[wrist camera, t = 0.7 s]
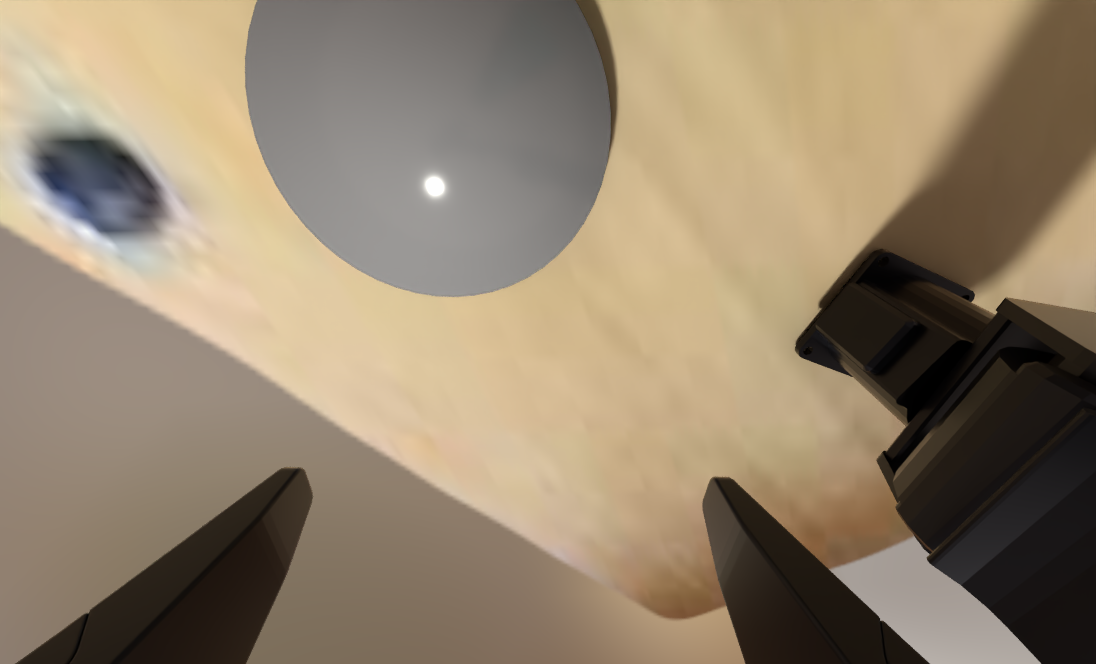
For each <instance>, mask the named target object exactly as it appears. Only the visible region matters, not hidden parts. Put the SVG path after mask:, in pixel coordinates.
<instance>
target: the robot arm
mask: <svg viewBox="0 0 1096 664" xmlns="http://www.w3.org/2000/svg"><path fill="white" fill-rule="evenodd" d="M881 258H883V259H882V261H881V262H880V263H878V262H879V260H880V259H881ZM974 297H975V294H974V292H973V291H971V290H969V289H967V288H965V287H963V286H961V285H959V284H957V283H954V282H952V281H950V280H948V279H946V278H944V277H942V276H940V275H937V274H935V273H933V272H931V271H929V270H927V269H925V268H923V267H921V266H918V265H916V264H914V263H912V262H910V261H908V260H906V259H904V258H902V257H899V256H897V255H895V254H893V253H891V252H889V251H887V250H884V249H880V250H876V251H875V252H873V253H872V254H871V255H870V256H869V257H868V258H867V260H866V261H865V262H864V263H863V264H862V266H861V267H860V268H859V269H858V271H857V272H856V273H855V274H854V275H853V277H852V278H851V279H850V280H849V281H848V283H847V284H846V285H845V286H844V288H843V289H842V290H841V291H840V292H839V294H838V295H837V296H836V297H835V299H834V300H833V301H832V302H831V303H830V305H829V306H828V307H827V308H826V309H825V311H824V312H823V313H822V314H821V316H820V317H819V318H818V319H817V320H816V322H815V323H814V324H813V325H812V326H811V328H810V329H809V330H808V331H807V333H806V334H805V335H804V336H803V337H802V339H801V340H800V341H799V342H798V344H797V345H796V347H795V351H796V353H797V354H798V355H799V356H800V357H801V358H803V359H806V360H809V361H811V362H814V363H817V364H819V365H822V366H825V367H827V368H830V369H833V370H835V371H838V372H841V373H843V374H846V375H849V376H851V377H854V378H855V379H856V380H857V381H858V382H859V383H860V384H861V385H862V386H863V387H864V388H866V389H867V390H868V391H869V392H870V393H871V394H872V395H873V396H874V397H875V398H876V399H877V400H878V401H879V402H881V403H882V404H883V405H884V406H885V407H886V408H887V409H888V410H889V411H890V412H891V413H892V414H893V415H894V416H896V417H897V418H898V419H899V420H900V421H901V422H902V423H903V424H904V425H905V426H906V427H905V428H904V430H903V431H902V432H901V433H900V435H899V436H898V437H897V438H896V440H895V441H894V442H893V443H892V445H891V446H890V447H889V448H888V450H887V451H883V452H882V453H881V455H880V456H879V457H878V458H877V463H878V465H879V467H880V469H881V471H882V473H883V475H884V477H885V479H886V481H887V483H888V485H889V487H890V489H891V491H892V493H893V495H894V497H895V499H896V501H897V503H898V504H897V505H896V510H897V512H898V514H899V516H900V517H901V518H902V520H903V521H904V523H905V524H906V525H907V527H908V528H909V530H910V531H911V532H912V533H913V534H914V536H915V538H916V539H917V540H918V542H919V543H920V544H921V546H922V547H923V549H924V550H926V551H927V552H928V553H929V554H930V555H929V556H928V557H927V560H928V562H929V563H930V564H931V565H933V566H934V567H935V568H937V569H939V570H940V571H941V572H943V573H944V574H945V575H947V576H948V577H950V578H951V579H953V580H954V581H956V582H957V583H959V584H960V585H961V586H963V587H964V588H965V589H966V590H967V591H968V592H970V593H971V594H972V595H973V596H974V597H975V598H977V599H978V600H979V601H980V602H981V603H982V604H984V605H985V606H986V607H987V608H988V609H989V610H990V611H991V612H992V613H994V615H995V616H996V617H997V618H998V619H1000V620H1001V621H1002V622H1003V623H1004V624H1005V625H1006V626H1007V627H1008V629H1009V630H1010V631H1011V632H1012V633H1013V634H1014V635H1015V636H1016V637H1017V638H1018V639H1019V640H1020V641H1021V642H1022V643H1023V644H1024V646H1025V647H1026V648H1027V649H1028V650H1029V651H1030V652H1031V653H1032V654H1033V655H1034V656H1035V657H1036V658H1037V659H1038V660H1039V661H1040V662H1041V664H1096V313H1094V312H1088V311H1083V310H1077V309H1071V308H1065V307H1059V306H1054V305H1048V304H1042V303H1036V302H1030V301H1025V300H1019V299H1013V298H1005V299H1004V300H1003V301H1002V303H1001V304H1000V305H999V306H998V308H997V309H996V311H997V314H996V315H995V314H993V313H991V312H989V311H987V310H985V309H983V308H981V307H979V306H977V305H975V304H973V303H971V302H972V301H973V299H974ZM807 347H808V349H807V350H804V349H806V348H807ZM312 498H313V495H312V490H311V486H310V484H309V481H308V478H307V475H306V472H305V470H304V469H303V468H299V467H284V468H281V469H280V470H278V471H277V472H275V473H274V474H273V475H271V476H270V477H269V478H267V479H266V480H264V481H263V482H262V483H260V484H259V485H258V486H256V487H255V488H254V489H252V490H251V491H250V492H248V493H247V494H246V495H244V496H243V497H242V498H240V499H239V500H238V501H236V502H235V503H233V504H232V505H231V506H230V507H228V508H227V509H225V510H224V511H223V512H221V513H220V514H219V515H217V516H216V517H214V518H213V519H212V520H210V521H209V522H208V523H206V524H205V525H204V526H202V527H201V528H200V529H198V530H197V531H196V532H194V533H193V534H191V535H190V536H189V537H187V538H186V539H185V540H183V541H182V542H181V543H179V544H178V545H177V546H175V547H174V548H173V549H171V550H170V551H168V552H167V553H166V554H164V555H163V556H162V557H160V558H159V559H158V560H156V561H155V562H154V563H152V564H151V565H150V566H148V567H147V568H146V569H144V570H143V571H141V572H140V573H139V574H137V575H136V576H135V577H133V578H132V579H131V580H129V581H128V582H127V583H125V584H124V585H123V586H121V587H120V588H118V589H117V590H116V591H114V592H113V593H112V594H110V595H109V596H108V597H106V598H105V599H104V600H102V601H101V602H100V603H98V604H97V605H96V606H94V607H93V608H92V609H91V610H90V612H89V613H85V614H83V615H82V616H81V617H79V618H78V619H76V620H75V621H74V622H72V623H71V624H70V625H68V626H67V627H65V628H64V629H63V630H61V631H60V632H59V633H57V634H56V635H55V636H53V637H52V638H50V639H49V640H48V641H46V642H45V643H44V644H42V645H41V646H40V647H38V648H36V649H35V650H34V651H32V652H31V653H29V654H28V655H27V656H25V657H24V658H23V659H21V660H20V661H18V662H17V663H16V664H246V662H247V660H248V658H249V656H250V654H251V651H252V649H253V647H254V645H255V643H256V640H257V639H258V636H259V634H260V632H261V630H262V627H263V626H264V623H265V621H266V619H267V617H268V615H269V613H270V610H271V608H272V606H273V604H274V602H275V599H276V597H277V595H278V593H279V591H280V589H281V586H282V584H283V582H284V580H285V577H286V575H287V573H288V570H289V567H290V565H291V562H292V559H293V556H294V553H295V550H296V547H297V544H298V541H299V539H300V536H301V533H302V530H303V527H304V524H305V521H306V518H307V515H308V512H309V509H310V507H311V503H312ZM703 514H704V518H705V523H706V527H707V532H708V537H709V541H710V546H711V550H712V555H713V559H714V564H715V569H716V573H717V577H718V581H719V584H720V587H721V591H722V594H723V597H724V600H725V603H726V606H727V609H728V612H729V615H730V618H731V621H732V624H733V627H734V630H735V633H736V636H737V639H738V642H739V645H740V648H741V651H742V654H743V658H744V660H745V664H929V663H928V662H927V661H926V660H925V659H924V658H923V657H922V656H921V655H920V654H919V653H918V652H916V651H915V650H914V649H913V648H912V647H911V646H910V645H909V644H908V643H907V642H905V641H904V640H903V639H902V638H901V637H900V636H899V635H898V634H897V633H896V632H895V631H894V630H893V629H891V627H889V626H888V625H887V624H886V623H885V622H884V621H880V618H879V616H878V615H877V614H875V613H874V612H873V611H872V610H871V609H870V608H869V607H868V606H867V605H866V604H865V603H864V602H863V601H862V600H861V599H859V598H858V597H857V596H856V595H855V594H854V593H853V592H852V591H851V590H850V589H849V588H848V587H847V586H846V585H845V584H844V583H843V582H841V581H840V580H839V579H838V578H837V577H836V576H835V575H834V574H833V573H832V572H831V571H830V570H829V569H828V568H827V567H826V566H824V565H823V564H822V563H821V562H820V561H819V560H818V559H817V558H816V557H815V556H814V555H813V554H812V553H811V552H810V551H809V550H807V549H806V548H805V547H804V546H803V545H802V544H801V543H800V542H799V541H798V540H797V539H796V538H795V537H794V536H793V535H792V534H790V533H789V532H788V531H787V530H786V529H785V528H784V527H783V526H782V525H781V524H780V523H779V522H778V521H777V520H776V519H775V518H774V517H772V516H771V515H770V514H769V513H768V512H767V511H766V510H765V509H764V508H763V507H762V506H761V505H760V504H759V503H758V502H757V501H755V500H754V499H753V498H752V497H751V496H750V495H749V494H748V493H747V492H746V491H745V490H744V489H743V488H742V487H741V486H740V485H738V484H737V483H736V482H735V481H734V480H733V479H731V478H729V477H712V478H711V479H710V481H709V484H708V487H707V490H706V493H705V496H704V499H703Z"/></svg>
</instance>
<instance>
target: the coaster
mask: <svg viewBox="0 0 1096 664" xmlns="http://www.w3.org/2000/svg"><path fill="white" fill-rule="evenodd" d="M245 86H246V94H247V101H248V109H249V115H250V119H251V122H252V126H253V130H254V134H255V138H256V141H257V144H258V146H259V149H260V152H261V154H262V157H263V159H264V162H265V164H266V166H267V168H268V170H269V172H270V174H271V176H272V178H273V180H274V182H275V184H276V186H277V188H278V189H279V191H280V192H281V194H282V195H283V197H284V199H285V200H286V202H287V203H288V205H289V206H290V208H291V209H292V210H293V211H294V213H295V214H296V215H297V216H298V218H299V219H300V220H301V221H302V223H303V224H304V225H305V226H306V227H307V228H308V229H309V230H310V231H311V232H312V234H313V235H314V236H315V237H316V238H317V239H318V240H319V241H320V242H321V243H322V244H324V245H325V246H326V247H327V248H328V249H330V250H331V251H332V252H333V253H335V254H336V255H337V256H338V257H339V258H341V259H342V260H344V261H345V262H347V263H348V264H350V265H351V266H353V267H354V268H356V269H357V270H359V271H361V272H363V273H365V274H367V275H369V276H371V277H372V278H374V279H376V280H378V281H381V282H384V283H386V284H389V285H391V286H394V287H396V288H400V289H403V290H407V291H411V292H414V293H419V294H425V295H432V296H445V297H460V296H474V295H479V294H484V293H489V292H493V291H496V290H499V289H502V288H505V287H508V286H511V285H513V284H515V283H517V282H520V281H522V280H524V279H526V278H528V277H529V276H531V275H532V274H534V273H536V272H537V271H539V270H540V269H542V268H543V267H545V266H546V265H547V264H548V263H549V262H550V261H552V260H553V259H554V258H555V257H556V256H558V255H559V254H560V253H561V251H562V250H563V249H564V248H565V247H566V246H567V245H568V244H569V243H570V242H571V241H572V239H573V238H574V236H575V235H576V234H577V232H578V231H579V229H580V228H581V227H582V225H583V224H584V222H585V220H586V218H587V216H588V215H589V213H590V211H591V209H592V207H593V205H594V203H595V200H596V198H597V195H598V192H599V190H600V187H601V185H602V181H603V177H604V173H605V169H606V165H607V161H608V153H609V145H610V138H611V110H610V101H609V92H608V84H607V80H606V76H605V72H604V67H603V63H602V59H601V56H600V53H599V50H598V48H597V45H596V42H595V39H594V37H593V34H592V31H591V29H590V27H589V25H588V23H587V21H586V19H585V17H584V15H583V13H582V11H581V9H580V7H579V5H578V4H577V2H576V1H575V0H257V2H256V5H255V9H254V12H253V16H252V20H251V24H250V27H249V31H248V39H247V47H246V56H245Z"/></svg>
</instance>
